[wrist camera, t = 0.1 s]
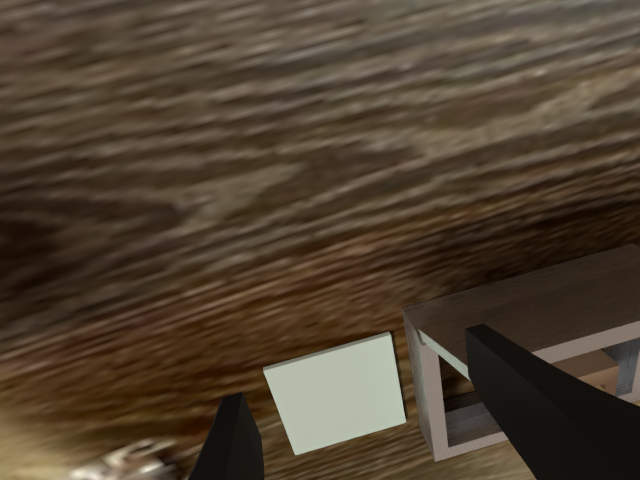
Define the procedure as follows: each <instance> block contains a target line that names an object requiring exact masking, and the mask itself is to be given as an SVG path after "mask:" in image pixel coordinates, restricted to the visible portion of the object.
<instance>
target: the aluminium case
mask: <svg viewBox="0 0 640 480" xmlns="http://www.w3.org/2000/svg"><path fill="white" fill-rule="evenodd" d="M637 266H640V247H639V246H637V245H635V244H633V243H631V244H627V245H623V246H620V247H616V248H613V249H609V250H606V251H602V252H599V253H595V254H591V255H588V256H584V257H581V258H577V259H574V260H570V261H567V262H563V263H559V264H556V265H552V266H549V267H545V268H542V269H538V270H535V271H531V272H527V273H524V274H520V275H517V276H513V277H510V278H506V279H503V280H499V281H496V282H492V283H488V284H485V285H481V286H478V287H474V288H471V289H467V290H464V291H460V292H456V293H453V294H449V295H446V296H442V297H439V298H435V299H432V300H428V301H424V302H421V303H417V304H414V305H410V306H407V307H403V308H402V313H403V320H404V326H405V333H406V339H407V346H408V352H409V359H410V365H411V372H412V379H413V385H414V392H415V398H416V405H417V411H418V418H419V424H420V430H421V432H422V434H423V436H424V438H425V441H426V443H427V445H428V447H429V449H430V452H431V454H432V456H433V458H434V460H435V462H436V461H439V460H443V459H446V458H449V457H453V456H456V455H459V454H462V453H466V452H469V451H472V450H476V449H479V448H482V447H486V446H489V445H492V444H495V443H499V442H502V441H505V440H509V439H508V438H507V437H506V435H505V434H504V432H503V431H502V430H501V428H500V427H499V425H498V424H497V423H496V421H495V420H494V418H493V417H492V416H491V414H490V413H489V411H488V410H487V408H486V407H485V405H484V404H483V402H482V400H481V398H480V397H479V395H478V393H477V391H473V392H470V393H467V394H463V395H460V396H457V397H453V398H450V399H446V400H443V394H442V385H441V376H440V367H439V358H438V353H436V352H435V351H434V350H433V349H432V348H430V347H429V346H428V345H424V346H422V345H421V343H420V341H419V339H418V335H417V331H419V330H418V329H419V328H423V327H426V326H430V325H434V324H437V323H441V322H444V321H448V320H451V319H455V318H458V317H462V316H465V315H469V314H472V313H476V312H479V311H483V310H486V309H490V308H493V307H497V306H500V305H504V304H507V303H511V302H514V301H518V300H521V299H525V298H528V297H532V296H535V295H539V294H542V293H546V292H549V291H553V290H556V289H560V288H563V287H567V286H570V285H574V284H577V283H581V282H584V281H588V280H591V279H595V278H599V277H602V276H606V275H609V274H613V273H616V272H620V271H623V270H627V269H630V268H634V267H637ZM603 352H604V353H606V354H607V355H608V356H609V357H610V358H612V359H613V360H614V361H615V362H616V363H618V364H619V365H620V367H619V373H618V379H617V385H616V391H615V396H616V397H618V398H621V399H623V400H625V401H627V402H630V403H631V402H634V401H637V400H640V337H638V338H635V339H632V340H628V341H625V342H622V343H618V344H615V345H611V346H608V347H605V348H604V349H603Z"/></svg>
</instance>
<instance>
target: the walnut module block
mask: <svg viewBox="0 0 640 480" xmlns="http://www.w3.org/2000/svg"><path fill="white" fill-rule="evenodd" d="M550 364H552V365H553V366H555V367H557V368H559V369H561V370H562V371H564V372H566V373H568V374H570V375H572V376H574V377H576V378H578V379H580V380H582V381H584V382H586V383H588V384H590V385H592V386H594V387H596V388H598V389H600V390H603V391H605V392H607V393H609V394H612V395H614V396H615V391H616V385H617V379H618V373H619V367H620V365H619V364H618V363H616V362H615V361H614V360H613V359H612V358H610V357H609V356H608V355H607V354H606V353H604V352H603V351H602V350H601V349H598V350H594V351H591V352H588V353H584V354H581V355H577V356H574V357H571V358H567V359H564V360H560V361H557V362H554V363H550Z"/></svg>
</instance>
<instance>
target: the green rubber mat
mask: <svg viewBox="0 0 640 480" xmlns="http://www.w3.org/2000/svg"><path fill="white" fill-rule="evenodd" d="M263 371H264V374H265V376H266V379H267V382H268V384H269V387H270V389H271V392H272V395H273V397H274V400H275V403H276V405H277V408H278V411H279V413H280V416H281V419H282V421H283V424H284V427H285V429H286V432H287V435H288V437H289V440H290V443H291V445H292V448H293V451H294V453H295V455H298V454H301V453H305V452H308V451H312V450H315V449H318V448H322V447H325V446H328V445H332V444H335V443H339V442H342V441H345V440H349V439H352V438H355V437H359V436H362V435H366V434H369V433H372V432H376V431H379V430H382V429H386V428H389V427H392V426H396V425H399V424H403V423H406V419H405V414H404V408H403V402H402V396H401V391H400V385H399V379H398V373H397V368H396V362H395V356H394V350H393V345H392V339H391V334H390V332H386V333H383V334H379V335H375V336H372V337H368V338H365V339H361V340H358V341H354V342H351V343H347V344H344V345H340V346H337V347H333V348H330V349H326V350H323V351H319V352H316V353H312V354H309V355H305V356H302V357H298V358H295V359H291V360H287V361H284V362H280V363H277V364H273V365H270V366H266V367H263Z"/></svg>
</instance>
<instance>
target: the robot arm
mask: <svg viewBox="0 0 640 480" xmlns="http://www.w3.org/2000/svg"><path fill="white" fill-rule="evenodd" d="M465 336H466V351H467V365H468V376H469V378H470V380H471V382H472V384H473V386H474V388H475V389H476V391H477V393H478V395H479V397H480V398H481V400H482V402H483V404H484V405H485V407H486V408H487V410H488V411H489V413H490V414H491V416H492V417H493V418H494V420H495V421H496V423H497V424H498V425H499V427H500V428H501V430H502V431H503V432H504V434H505V435H506V437H507V438H508V439H509V441H510V442H511V444H512V445H513V446H514V448H515V449H516V451H517V452H518V453H519V455H520V456H521V458H522V459H523V460H524V462H525V463H526V465H527V466H528V467H529V469H530V470H531V472H532V473H533V475H534V476H535V478H536V479H537V480H640V406H637V405H635V404H632V403H630V402H627V401H625V400H623V399H621V398H618V397H616V396H614V395H612V394H609V393H607V392H605V391H603V390H600V389H598V388H596V387H594V386H592V385H590V384H588V383H586V382H584V381H582V380H580V379H578V378H576V377H574V376H572V375H570V374H568V373H566V372H564V371H562V370H561V369H559V368H557V367H555V366H553V365H552V364H550V363H548V362H546V361H545V360H543V359H541V358H539V357H538V356H536V355H534V354H532V353H531V352H529V351H527V350H526V349H524V348H522V347H521V346H519V345H518V344H516V343H514V342H513V341H511V340H509V339H508V338H506V337H505V336H503V335H501V334H500V333H498V332H497V331H495V330H493V329H492V328H490V327H489V326H487V325H485V324H484V323H483V324H479V325H476V326H472V327H469V328H465ZM188 480H264V462H263V452H262V442H261V435H260V433H259V431H258V428H257V426H256V423H255V421H254V419H253V416H252V414H251V411H250V409H249V407H248V404H247V402H246V400H245V397H244V395H243V392H241V393H237V394H234V395H230V396H227V397H223V398H222V400H221V401H220V404H219V407H218V410H217V412H216V415H215V418H214V420H213V423H212V425H211V428H210V430H209V433H208V435H207V438H206V440H205V443H204V445H203V447H202V449H201V452H200V454H199V456H198V458H197V461H196V463H195V465H194V467H193V470H192V472H191V474H190V476H189V478H188Z"/></svg>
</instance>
